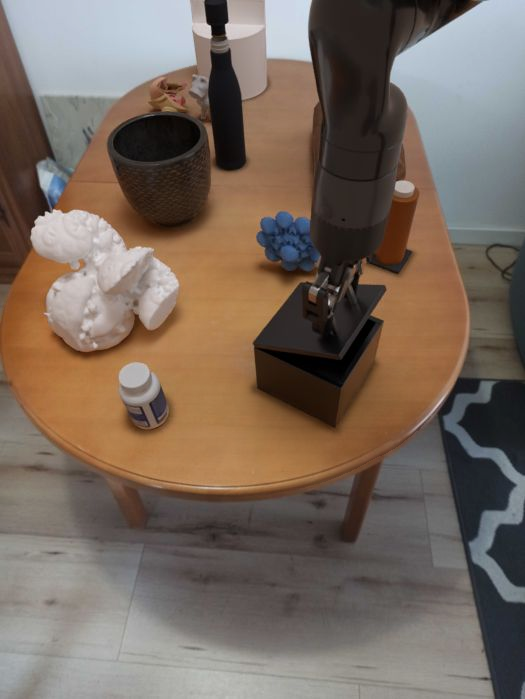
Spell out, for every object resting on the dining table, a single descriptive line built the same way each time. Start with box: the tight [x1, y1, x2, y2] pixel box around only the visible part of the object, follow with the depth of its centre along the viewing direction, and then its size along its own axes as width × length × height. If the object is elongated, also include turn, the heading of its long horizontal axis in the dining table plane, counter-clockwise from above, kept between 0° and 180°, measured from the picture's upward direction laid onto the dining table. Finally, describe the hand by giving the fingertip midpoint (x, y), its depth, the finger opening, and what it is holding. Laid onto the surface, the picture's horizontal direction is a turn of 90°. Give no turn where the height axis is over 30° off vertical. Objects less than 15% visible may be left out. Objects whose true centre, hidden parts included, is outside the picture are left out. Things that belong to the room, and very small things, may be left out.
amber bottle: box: [375, 179, 420, 265], centre depth 83 cm, size 5×5×14 cm
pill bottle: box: [117, 361, 170, 430], centre depth 67 cm, size 5×5×10 cm
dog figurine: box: [187, 73, 210, 120], centre depth 116 cm, size 5×13×11 cm, turn 144°
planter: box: [106, 111, 212, 229], centre depth 92 cm, size 17×17×16 cm
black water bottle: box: [204, 0, 247, 171], centre depth 96 cm, size 6×6×30 cm
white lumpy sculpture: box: [29, 208, 180, 353], centre depth 78 cm, size 19×20×20 cm
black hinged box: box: [253, 314, 385, 429], centre depth 70 cm, size 13×13×10 cm
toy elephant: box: [146, 76, 189, 113], centre depth 119 cm, size 9×10×10 cm
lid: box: [252, 276, 387, 360], centre depth 62 cm, size 13×13×6 cm
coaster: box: [368, 248, 413, 275], centre depth 88 cm, size 6×6×1 cm
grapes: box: [255, 210, 320, 272], centre depth 82 cm, size 12×7×12 cm, turn 80°
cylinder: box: [189, 0, 268, 101], centre depth 118 cm, size 17×17×28 cm
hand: (334, 313), depth 62 cm, fingers closed on lid, 6 cm apart
